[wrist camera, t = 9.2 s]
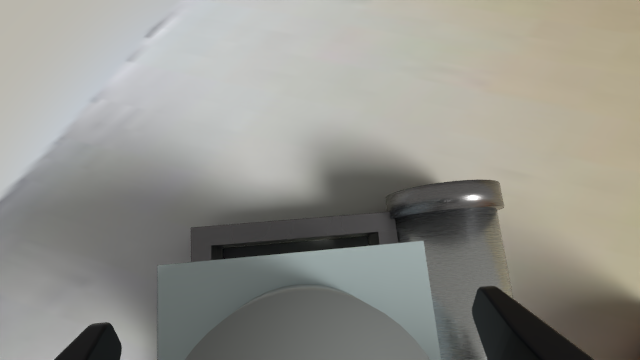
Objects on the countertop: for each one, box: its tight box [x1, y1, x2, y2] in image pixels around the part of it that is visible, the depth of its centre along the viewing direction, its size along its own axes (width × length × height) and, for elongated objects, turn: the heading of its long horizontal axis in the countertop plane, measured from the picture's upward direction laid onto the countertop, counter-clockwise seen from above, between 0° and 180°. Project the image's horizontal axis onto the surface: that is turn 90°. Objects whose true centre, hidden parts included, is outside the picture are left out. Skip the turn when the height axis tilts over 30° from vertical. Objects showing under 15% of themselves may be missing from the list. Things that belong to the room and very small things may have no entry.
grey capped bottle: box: [157, 241, 441, 360], centre depth 11 cm, size 5×5×13 cm
